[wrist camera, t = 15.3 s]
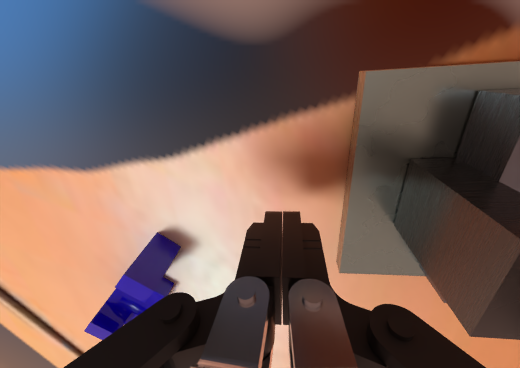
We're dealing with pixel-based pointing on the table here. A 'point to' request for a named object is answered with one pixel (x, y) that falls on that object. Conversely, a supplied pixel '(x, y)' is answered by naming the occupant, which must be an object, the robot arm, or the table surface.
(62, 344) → the table surface
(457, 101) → the vise
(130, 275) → the cable holder
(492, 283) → the free jaw
